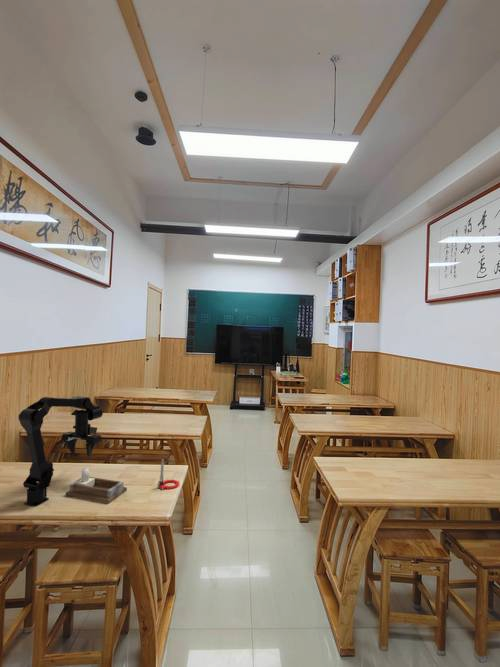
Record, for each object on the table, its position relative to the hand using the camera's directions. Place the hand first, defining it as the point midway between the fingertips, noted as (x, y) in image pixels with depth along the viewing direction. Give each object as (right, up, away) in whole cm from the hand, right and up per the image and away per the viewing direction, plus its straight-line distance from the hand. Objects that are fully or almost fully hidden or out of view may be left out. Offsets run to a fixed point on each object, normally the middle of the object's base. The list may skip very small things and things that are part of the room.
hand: (81, 455), depth 158 cm
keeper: (+7, -10, -11) cm, 17 cm away
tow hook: (+43, -13, -4) cm, 45 cm away
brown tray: (+13, -12, -13) cm, 22 cm away
